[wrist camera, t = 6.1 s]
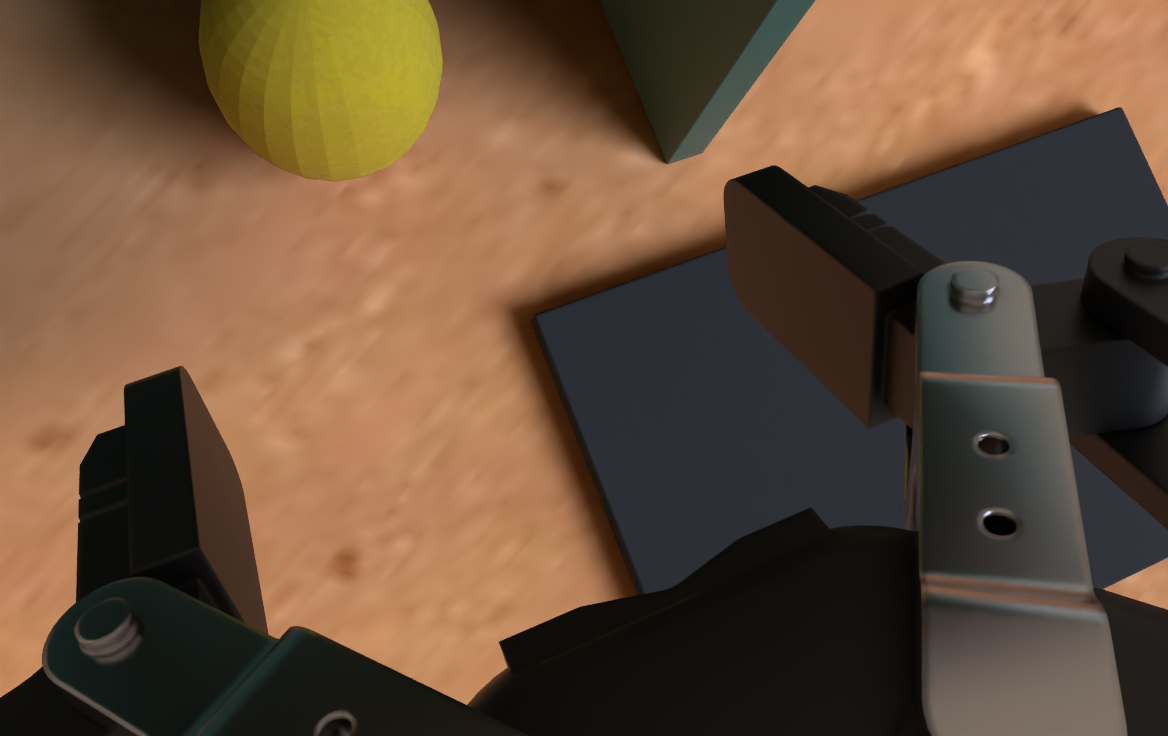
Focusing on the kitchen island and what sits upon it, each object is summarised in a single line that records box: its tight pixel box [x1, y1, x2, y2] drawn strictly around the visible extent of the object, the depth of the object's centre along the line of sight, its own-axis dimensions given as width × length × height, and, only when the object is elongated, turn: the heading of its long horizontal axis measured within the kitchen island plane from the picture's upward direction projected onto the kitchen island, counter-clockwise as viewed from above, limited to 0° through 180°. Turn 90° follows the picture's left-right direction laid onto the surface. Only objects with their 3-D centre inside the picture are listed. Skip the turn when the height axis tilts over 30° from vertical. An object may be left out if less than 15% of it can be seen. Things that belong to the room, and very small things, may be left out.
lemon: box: [199, 0, 443, 181], centre depth 23 cm, size 6×6×8 cm
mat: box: [531, 108, 1168, 595], centre depth 28 cm, size 20×13×1 cm, turn 112°
